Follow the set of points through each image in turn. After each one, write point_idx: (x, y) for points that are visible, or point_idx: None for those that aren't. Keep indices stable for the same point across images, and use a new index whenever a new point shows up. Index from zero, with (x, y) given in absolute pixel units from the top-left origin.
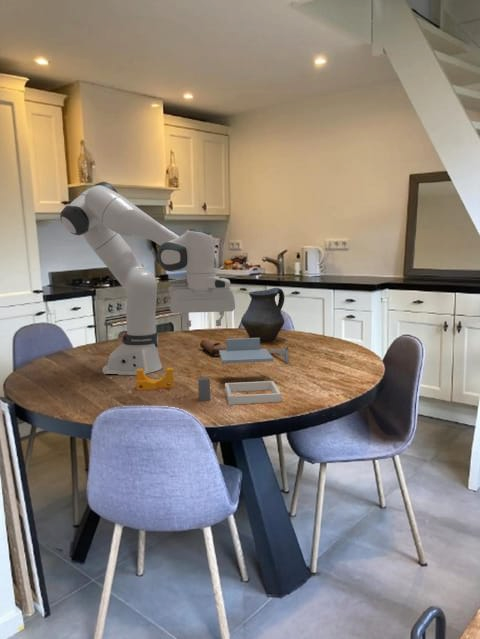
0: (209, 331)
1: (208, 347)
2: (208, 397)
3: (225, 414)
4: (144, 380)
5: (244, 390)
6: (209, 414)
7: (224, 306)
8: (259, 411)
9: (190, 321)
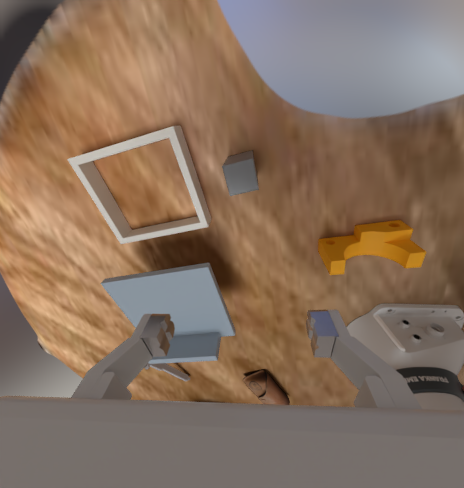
0: None
1: (274, 388)
2: (231, 157)
3: (170, 54)
4: (391, 237)
5: (174, 222)
6: (209, 48)
7: (4, 453)
8: (103, 92)
9: (315, 340)
